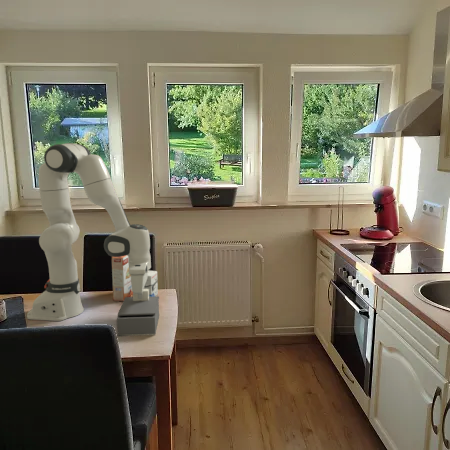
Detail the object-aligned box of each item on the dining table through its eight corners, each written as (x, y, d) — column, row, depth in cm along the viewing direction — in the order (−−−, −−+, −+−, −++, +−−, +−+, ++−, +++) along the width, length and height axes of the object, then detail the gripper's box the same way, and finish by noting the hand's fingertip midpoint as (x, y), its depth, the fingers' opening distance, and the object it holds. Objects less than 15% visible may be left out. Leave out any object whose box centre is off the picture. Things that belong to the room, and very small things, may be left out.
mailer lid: (117, 315, 156) (116, 304, 155) (125, 298, 173) (124, 288, 172) (155, 314, 157) (154, 303, 156) (158, 297, 174) (158, 287, 173)
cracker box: (125, 301, 190) (123, 257, 186) (112, 301, 191) (110, 257, 187) (136, 291, 203) (135, 250, 199) (125, 290, 204) (123, 249, 200)
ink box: (151, 300, 191) (151, 276, 189) (141, 299, 192) (140, 275, 190) (158, 294, 199) (157, 270, 197) (148, 293, 200) (147, 270, 198)
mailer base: (117, 336, 155) (116, 318, 154) (125, 316, 173) (124, 301, 171) (155, 334, 156) (154, 317, 155) (159, 315, 174) (158, 300, 172)
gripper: (135, 257, 178) (136, 288, 180) (127, 271, 158) (129, 306, 160) (150, 257, 178) (151, 288, 181) (144, 271, 158) (145, 305, 161)
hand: (141, 296), depth 170 cm, fingers closed on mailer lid, 3 cm apart
